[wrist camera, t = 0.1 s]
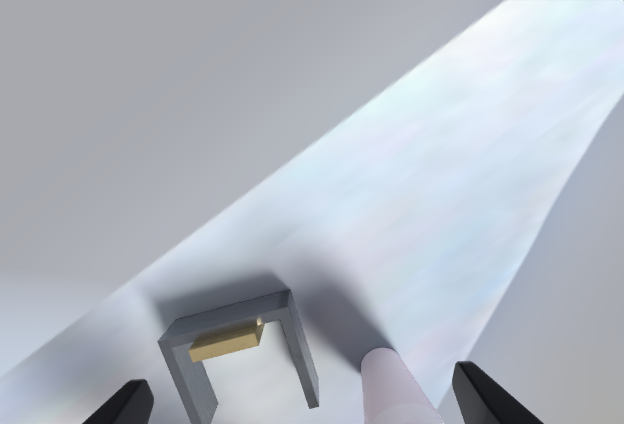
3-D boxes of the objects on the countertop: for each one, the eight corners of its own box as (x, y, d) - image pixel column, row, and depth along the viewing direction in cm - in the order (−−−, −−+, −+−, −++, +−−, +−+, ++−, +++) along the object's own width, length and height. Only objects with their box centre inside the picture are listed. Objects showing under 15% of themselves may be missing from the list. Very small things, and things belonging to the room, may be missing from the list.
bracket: (318, 378, 26) (319, 417, 22) (209, 405, 26) (191, 449, 22) (290, 289, 24) (286, 314, 20) (175, 319, 25) (150, 349, 21)
